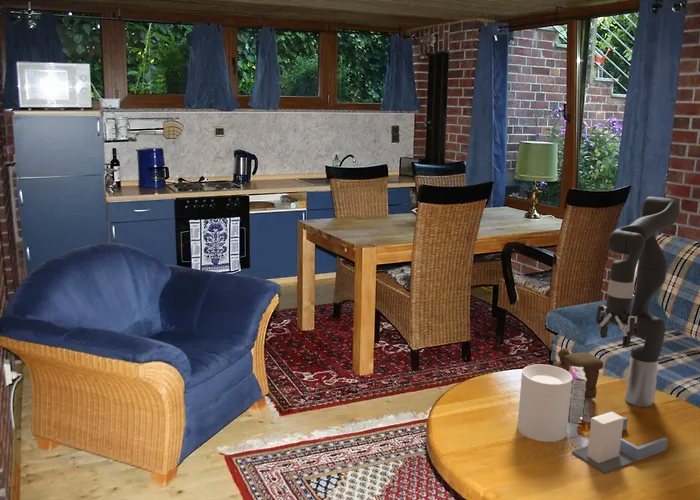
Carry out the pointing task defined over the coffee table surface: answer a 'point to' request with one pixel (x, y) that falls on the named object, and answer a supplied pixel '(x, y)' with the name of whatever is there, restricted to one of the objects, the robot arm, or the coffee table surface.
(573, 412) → the candy bar box
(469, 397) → the coffee table surface
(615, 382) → the coffee table surface
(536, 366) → the canister
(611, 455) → the packed carton
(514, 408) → the coffee table surface
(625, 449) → the frame
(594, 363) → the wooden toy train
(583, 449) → the rubber pad
